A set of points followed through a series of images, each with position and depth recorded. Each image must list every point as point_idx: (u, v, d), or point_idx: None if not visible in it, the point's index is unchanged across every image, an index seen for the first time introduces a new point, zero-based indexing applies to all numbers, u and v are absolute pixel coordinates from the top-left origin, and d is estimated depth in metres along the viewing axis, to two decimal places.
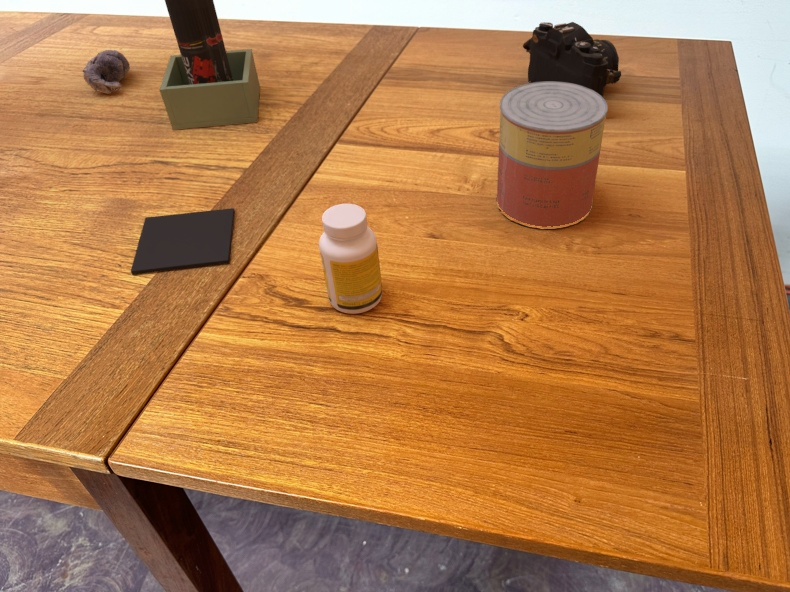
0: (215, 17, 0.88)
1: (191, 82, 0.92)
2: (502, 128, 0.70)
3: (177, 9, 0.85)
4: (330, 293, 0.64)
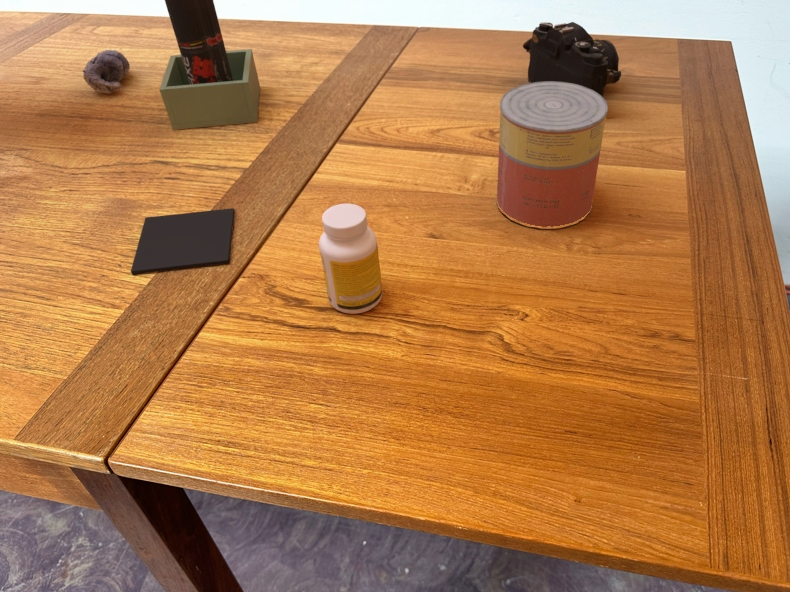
0: (215, 17, 0.88)
1: (191, 82, 0.92)
2: (502, 128, 0.70)
3: (177, 9, 0.85)
4: (330, 293, 0.64)
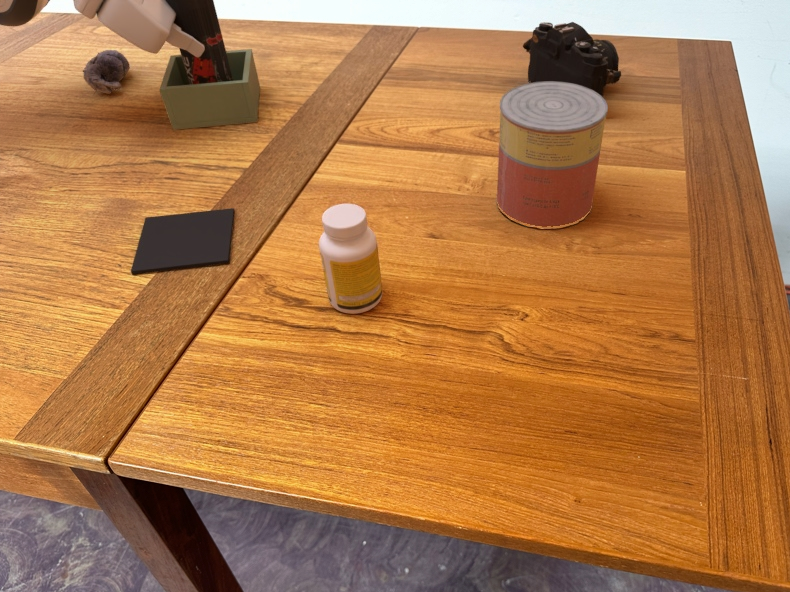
0: (215, 17, 0.88)
1: (191, 82, 0.92)
2: (502, 128, 0.70)
3: (177, 9, 0.85)
4: (330, 293, 0.64)
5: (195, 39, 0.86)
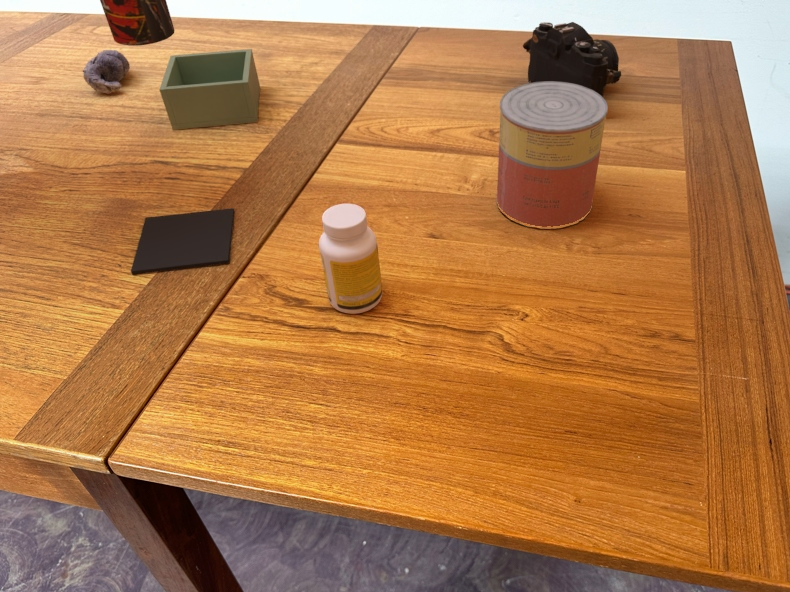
0: None
1: (102, 0, 0.63)
2: (502, 128, 0.70)
3: None
4: (330, 293, 0.64)
5: None
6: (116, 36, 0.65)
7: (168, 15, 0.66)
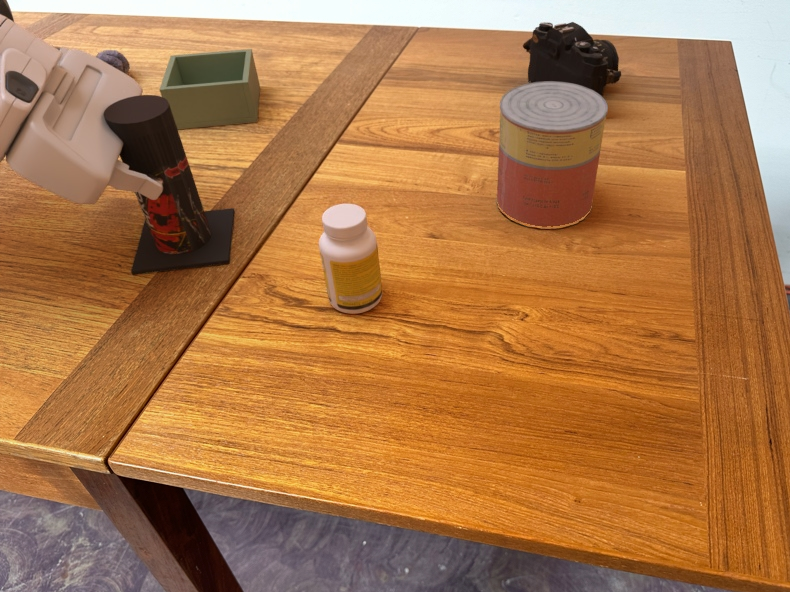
0: (177, 140, 0.65)
1: (147, 219, 0.69)
2: (502, 128, 0.70)
3: (122, 136, 0.62)
4: (330, 293, 0.64)
5: (149, 178, 0.63)
6: (159, 246, 0.71)
7: (206, 223, 0.72)
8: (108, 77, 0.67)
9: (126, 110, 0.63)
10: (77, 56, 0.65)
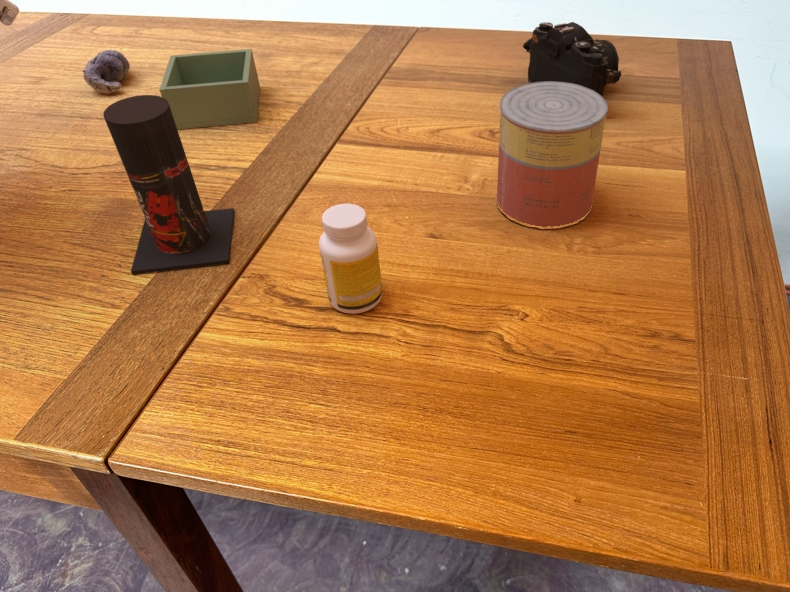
0: (176, 141, 0.65)
1: (147, 219, 0.69)
2: (502, 128, 0.70)
3: (122, 136, 0.62)
4: (330, 293, 0.64)
5: None
6: (159, 246, 0.71)
7: (206, 223, 0.72)
8: None
9: (125, 110, 0.62)
10: None
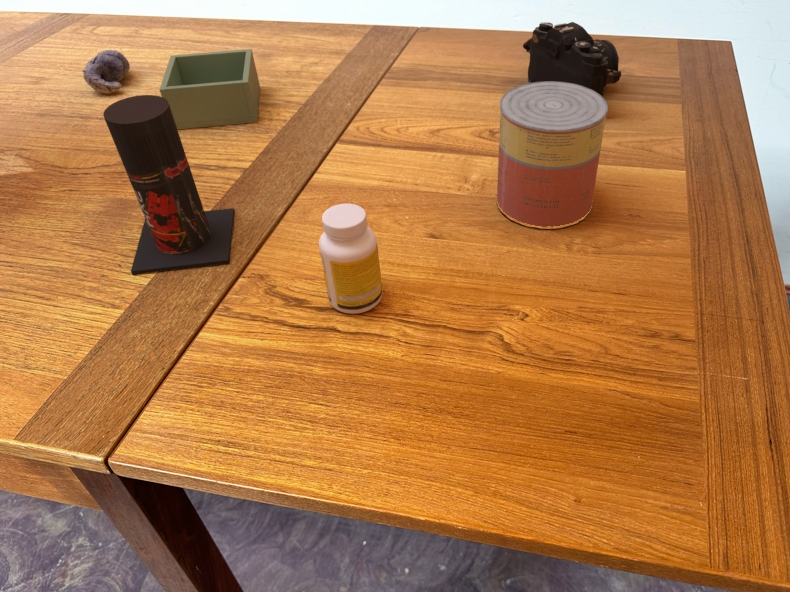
0: (176, 141, 0.65)
1: (147, 219, 0.69)
2: (502, 128, 0.70)
3: (122, 136, 0.62)
4: (330, 293, 0.64)
5: None
6: (159, 246, 0.71)
7: (206, 223, 0.72)
8: None
9: (125, 110, 0.62)
10: None
